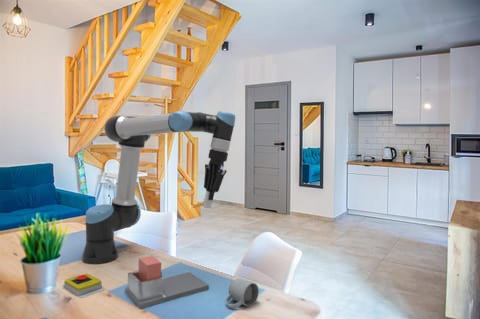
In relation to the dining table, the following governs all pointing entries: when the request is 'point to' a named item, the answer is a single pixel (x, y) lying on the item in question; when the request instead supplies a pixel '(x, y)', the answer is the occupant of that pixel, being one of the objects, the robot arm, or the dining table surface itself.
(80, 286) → the emergency button
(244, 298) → the ceramic mug
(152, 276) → the pink box with dome
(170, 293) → the stand board
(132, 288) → the grey box holder bracket
